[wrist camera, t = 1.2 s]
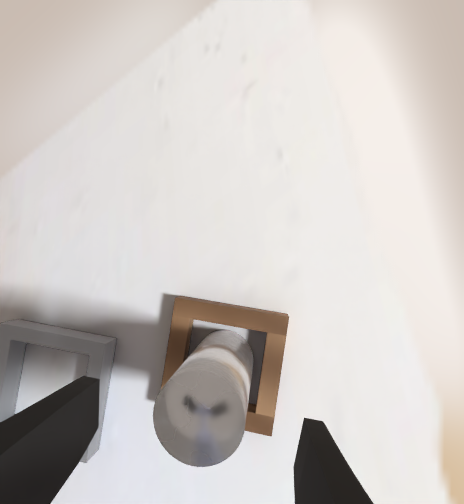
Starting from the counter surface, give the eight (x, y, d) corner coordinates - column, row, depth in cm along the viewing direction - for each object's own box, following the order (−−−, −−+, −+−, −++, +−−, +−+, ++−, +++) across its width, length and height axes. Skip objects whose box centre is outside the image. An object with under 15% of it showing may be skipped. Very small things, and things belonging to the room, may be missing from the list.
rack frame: (98, 449, 21) (86, 463, 20) (-1, 425, 22) (-20, 436, 21) (116, 338, 21) (105, 343, 20) (18, 319, 22) (0, 322, 21)
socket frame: (271, 426, 20) (271, 436, 19) (163, 402, 21) (157, 411, 20) (287, 314, 20) (288, 317, 19) (180, 295, 21) (175, 297, 20)
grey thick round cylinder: (248, 393, 20) (237, 476, 12) (192, 382, 21) (146, 454, 13) (257, 335, 20) (252, 380, 12) (201, 325, 21) (161, 362, 13)
